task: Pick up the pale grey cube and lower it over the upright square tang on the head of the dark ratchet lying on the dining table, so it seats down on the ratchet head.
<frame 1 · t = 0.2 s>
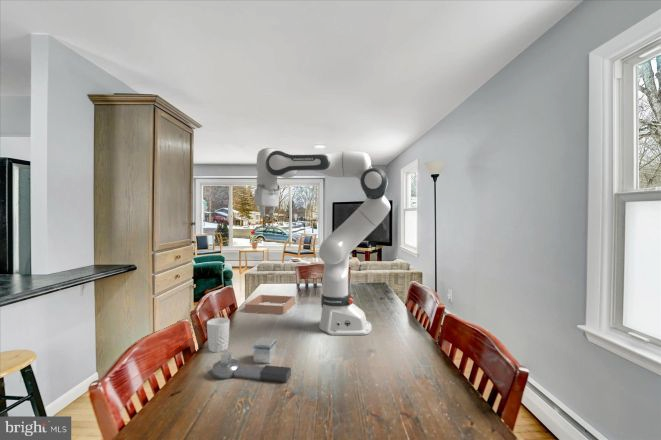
hand: (267, 216, 142), 48 cm above the table, fingers open, 8 cm apart
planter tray: (271, 307, 166), on the table
white cup: (218, 349, 116), on the table
ratchet: (226, 372, 98), on the table
pale grey cube: (265, 359, 107), on the table
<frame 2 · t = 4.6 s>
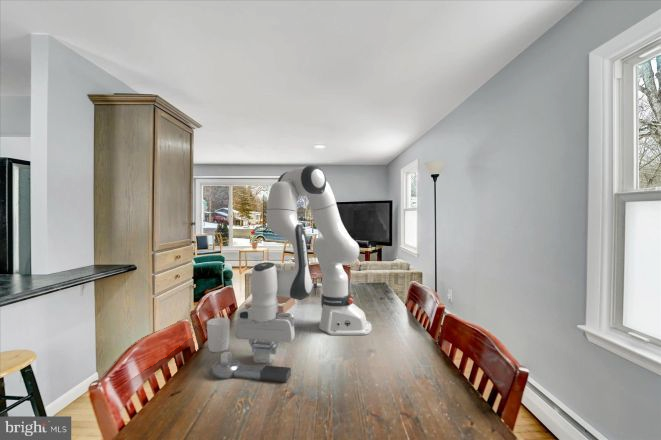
hand: (264, 352, 107), 2 cm above the table, fingers closed on pale grey cube, 6 cm apart
pale grey cube: (265, 359, 107), on the table, touching gripper
everything else where it was.
when the fingers open (5 cm above the table, at t = 9.6 s): pale grey cube stays where it is, resting on ratchet.
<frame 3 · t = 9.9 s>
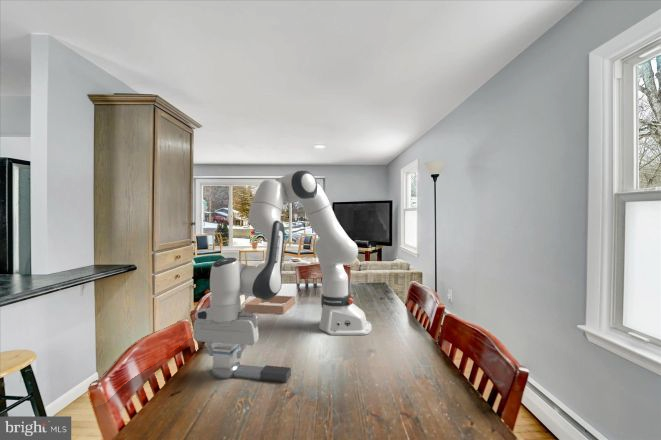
hand: (226, 356, 98), 5 cm above the table, fingers open, 8 cm apart
pale grey cube: (226, 364, 98), point 2 cm above the table, touching ratchet
everything else where it was.
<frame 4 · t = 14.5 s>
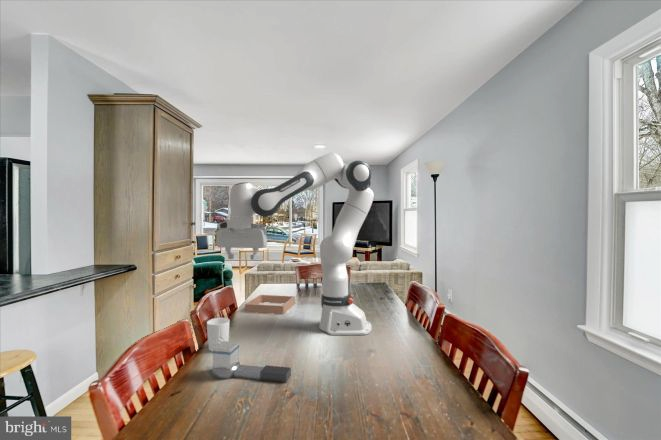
hand: (241, 259, 125), 31 cm above the table, fingers open, 8 cm apart
nothing on the table moved.
at the end: pale grey cube 0.0 cm off-centre on the ratchet, point 2.5 cm above the ratchet's base; the gripper is holding nothing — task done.
